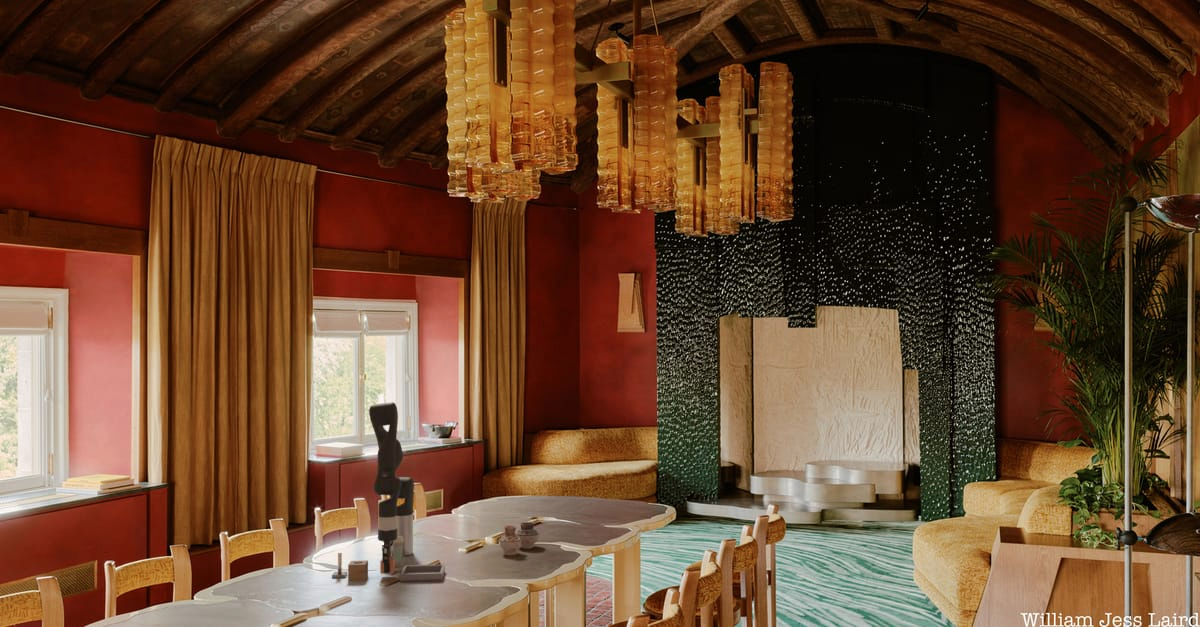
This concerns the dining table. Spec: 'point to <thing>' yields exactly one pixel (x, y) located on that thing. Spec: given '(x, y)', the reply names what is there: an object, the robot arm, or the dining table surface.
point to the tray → (422, 573)
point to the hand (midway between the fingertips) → (387, 570)
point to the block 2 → (392, 565)
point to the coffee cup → (398, 550)
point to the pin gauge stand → (339, 569)
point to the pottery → (518, 538)
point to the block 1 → (358, 570)
